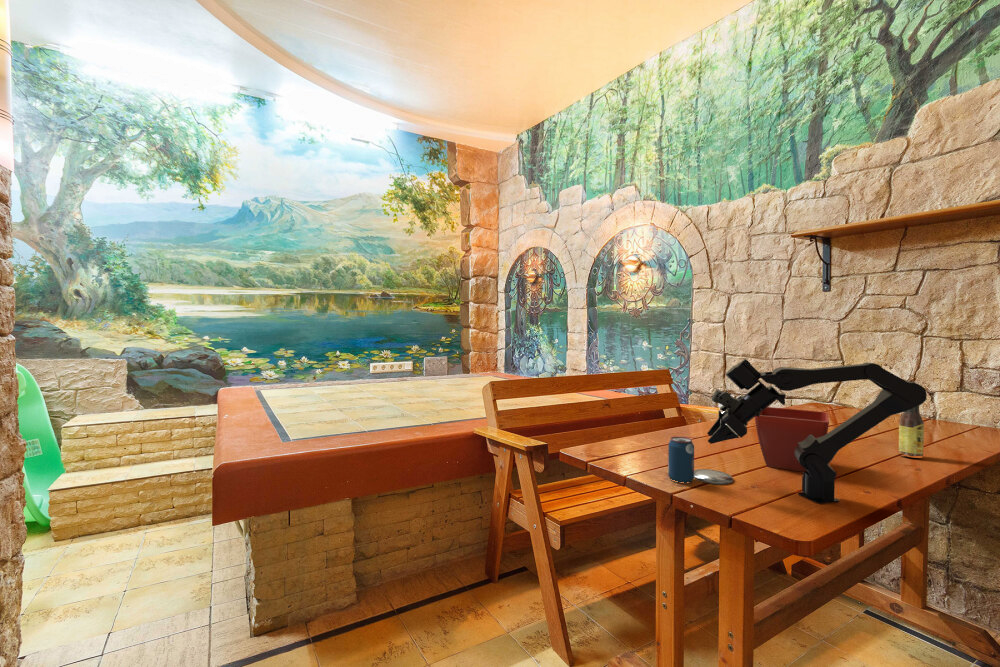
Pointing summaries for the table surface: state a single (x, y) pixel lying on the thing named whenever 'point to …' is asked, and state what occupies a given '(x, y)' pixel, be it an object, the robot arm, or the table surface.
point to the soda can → (681, 459)
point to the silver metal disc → (713, 476)
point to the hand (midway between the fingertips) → (708, 438)
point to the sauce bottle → (911, 433)
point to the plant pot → (787, 434)
